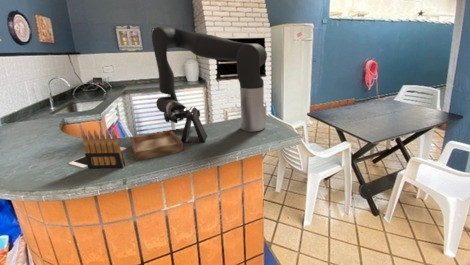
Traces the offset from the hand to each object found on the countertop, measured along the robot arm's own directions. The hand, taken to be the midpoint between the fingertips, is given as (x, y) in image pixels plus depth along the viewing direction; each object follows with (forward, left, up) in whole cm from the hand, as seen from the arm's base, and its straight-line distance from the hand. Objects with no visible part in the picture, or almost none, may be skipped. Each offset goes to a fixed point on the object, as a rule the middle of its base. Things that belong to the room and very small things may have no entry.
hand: (187, 118), depth 97 cm
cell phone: (+32, +3, -7) cm, 33 cm away
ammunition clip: (+30, +14, -7) cm, 34 cm away
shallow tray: (+14, +7, -7) cm, 17 cm away
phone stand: (0, +7, -7) cm, 10 cm away
